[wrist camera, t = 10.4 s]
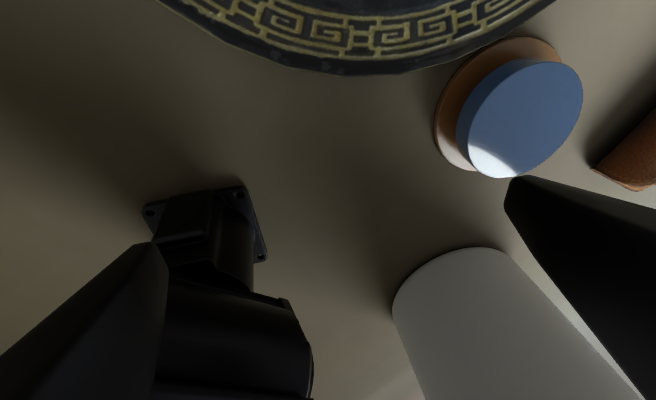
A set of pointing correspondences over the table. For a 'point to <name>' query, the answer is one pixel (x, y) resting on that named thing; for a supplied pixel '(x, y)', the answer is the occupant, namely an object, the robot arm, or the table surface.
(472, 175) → the table surface
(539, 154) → the flat blue disc
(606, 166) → the sunglasses case
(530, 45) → the coaster
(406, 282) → the cylinder vase
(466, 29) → the decorative plate
